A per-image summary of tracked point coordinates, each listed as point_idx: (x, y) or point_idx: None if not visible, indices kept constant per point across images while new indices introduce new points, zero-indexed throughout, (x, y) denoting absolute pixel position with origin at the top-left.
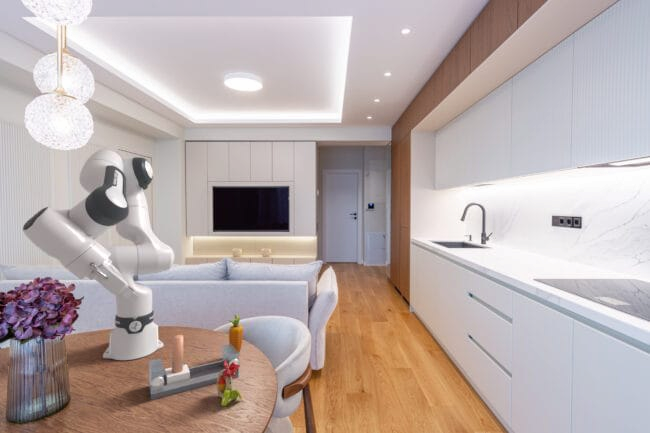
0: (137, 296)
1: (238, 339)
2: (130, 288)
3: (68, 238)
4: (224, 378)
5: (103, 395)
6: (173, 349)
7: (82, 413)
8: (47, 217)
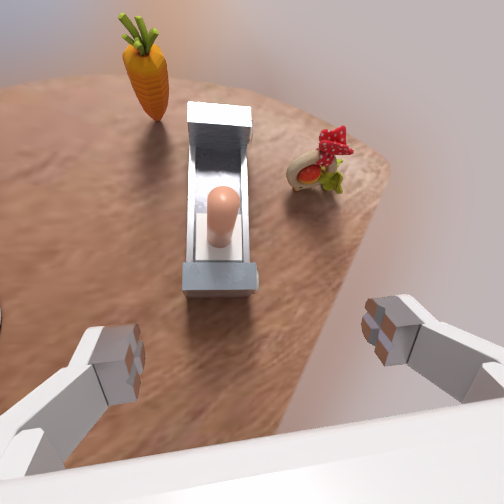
0: (409, 299)
1: (167, 79)
2: (130, 352)
3: None
4: (328, 165)
5: (174, 391)
6: (230, 226)
7: (231, 425)
8: None
